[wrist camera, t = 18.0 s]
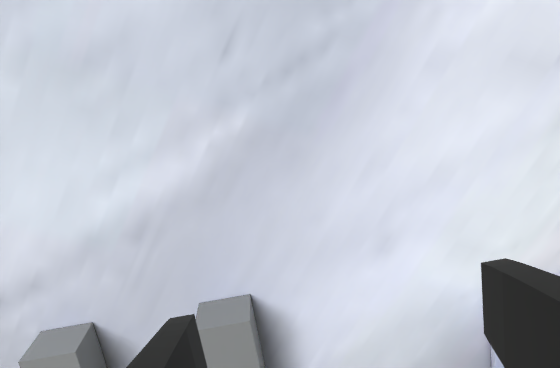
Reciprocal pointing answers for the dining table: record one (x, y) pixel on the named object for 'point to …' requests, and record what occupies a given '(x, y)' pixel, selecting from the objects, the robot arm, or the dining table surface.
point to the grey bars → (211, 325)
